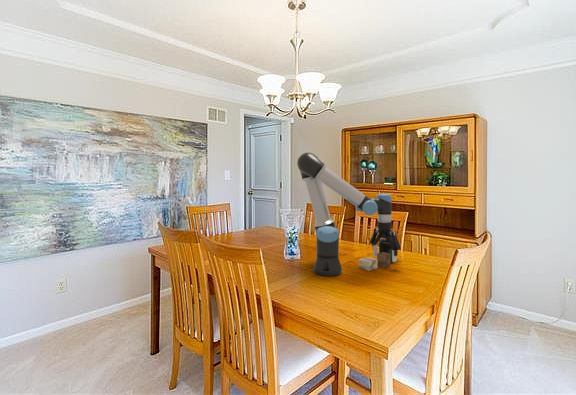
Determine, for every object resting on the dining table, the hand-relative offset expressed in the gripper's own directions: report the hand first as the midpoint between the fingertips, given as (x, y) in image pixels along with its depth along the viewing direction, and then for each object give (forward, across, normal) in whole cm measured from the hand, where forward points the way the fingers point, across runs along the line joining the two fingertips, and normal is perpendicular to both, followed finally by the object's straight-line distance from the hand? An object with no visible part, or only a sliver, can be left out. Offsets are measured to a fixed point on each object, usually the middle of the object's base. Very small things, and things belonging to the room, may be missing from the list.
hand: (384, 258), depth 181 cm
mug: (+4, +7, -12) cm, 14 cm away
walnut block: (+4, 0, 0) cm, 4 cm away
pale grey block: (+4, +2, +10) cm, 11 cm away
